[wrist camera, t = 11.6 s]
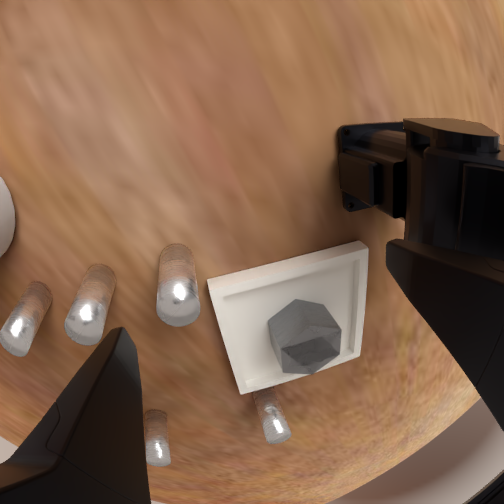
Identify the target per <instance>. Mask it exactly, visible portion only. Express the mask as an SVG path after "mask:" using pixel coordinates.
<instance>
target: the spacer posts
mask: <svg viewBox="0 0 504 504" xmlns="http://www.w3.org/2000/svg"><path fill="white" fill-rule="evenodd" d="M115 284H116V276H115V273H114V272H113V270H112V269H111V268H109V267H108V266H106V265H103V264H95V265H92V266H91V267H90V268H89V269H88V270H87V272H86V274H85V277H84V279H83V281H82V283H81V285H80V287H79V290H78V292H77V294H76V296H75V299H74V301H73V303H72V306H71V308H70V310H69V313H68V315H67V318H66V320H65V323H64V328H65V331H66V333H67V335H68V336H69V337H70V338H71V339H72V340H73V341H75V342H77V343H79V344H81V345H87V346H89V345H94V344H96V343H98V342H99V341H100V339H101V337H102V333H103V329H104V325H105V321H106V317H107V313H108V309H109V306H110V302H111V298H112V295H113V291H114V288H115ZM51 302H52V294H51V291H50V290H49V288H48V287H47V286H46V285H45V284H43V283H41V282H38V281H34V282H31V283H30V284H29V285H28V287H27V288H26V290H25V291H24V293H23V295H22V296H21V298H20V299H19V301H18V302H17V304H16V306H15V307H14V309H13V310H12V312H11V314H10V315H9V317H8V319H7V320H6V322H5V324H4V325H3V327H2V329H1V331H0V342H1V344H2V346H3V347H4V348H5V349H6V350H7V351H8V352H9V353H11V354H13V355H15V356H19V357H23V356H25V355H26V354H27V353H28V351H29V348H30V346H31V344H32V341H33V339H34V337H35V335H36V333H37V331H38V328H39V326H40V324H41V322H42V320H43V318H44V316H45V314H46V312H47V310H48V308H49V306H50V304H51ZM156 310H157V314H158V316H159V318H160V319H161V320H162V321H163V322H165V323H166V324H168V325H171V326H186V325H189V324H191V323H192V322H194V321H195V320H196V319H197V318H198V316H199V314H200V301H199V295H198V288H197V280H196V273H195V265H194V257H193V254H192V252H191V250H190V249H189V248H188V247H187V246H185V245H182V244H171V245H169V246H167V247H166V248H165V249H164V250H163V251H162V253H161V255H160V265H159V277H158V290H157V306H156ZM252 396H253V399H254V402H255V405H256V408H257V412H258V415H259V418H260V421H261V424H262V427H263V431H264V434H265V437H266V440H267V442H268V443H270V444H276V443H281V442H284V441H286V440H287V439H289V438H290V437H291V431H290V429H289V426H288V424H287V421H286V419H285V416H284V413H283V411H282V408H281V406H280V403H279V400H278V398H277V395H276V392H275V390H274V388H273V387H272V386H271V387H267V388H264V389H260V390H257V391H253V393H252ZM145 431H146V461H147V463H148V464H150V465H152V466H159V467H161V466H167V465H169V464H170V463H171V460H170V449H169V437H168V424H167V414H166V413H165V412H163V411H161V410H149V411H147V412H146V414H145Z"/></svg>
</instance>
